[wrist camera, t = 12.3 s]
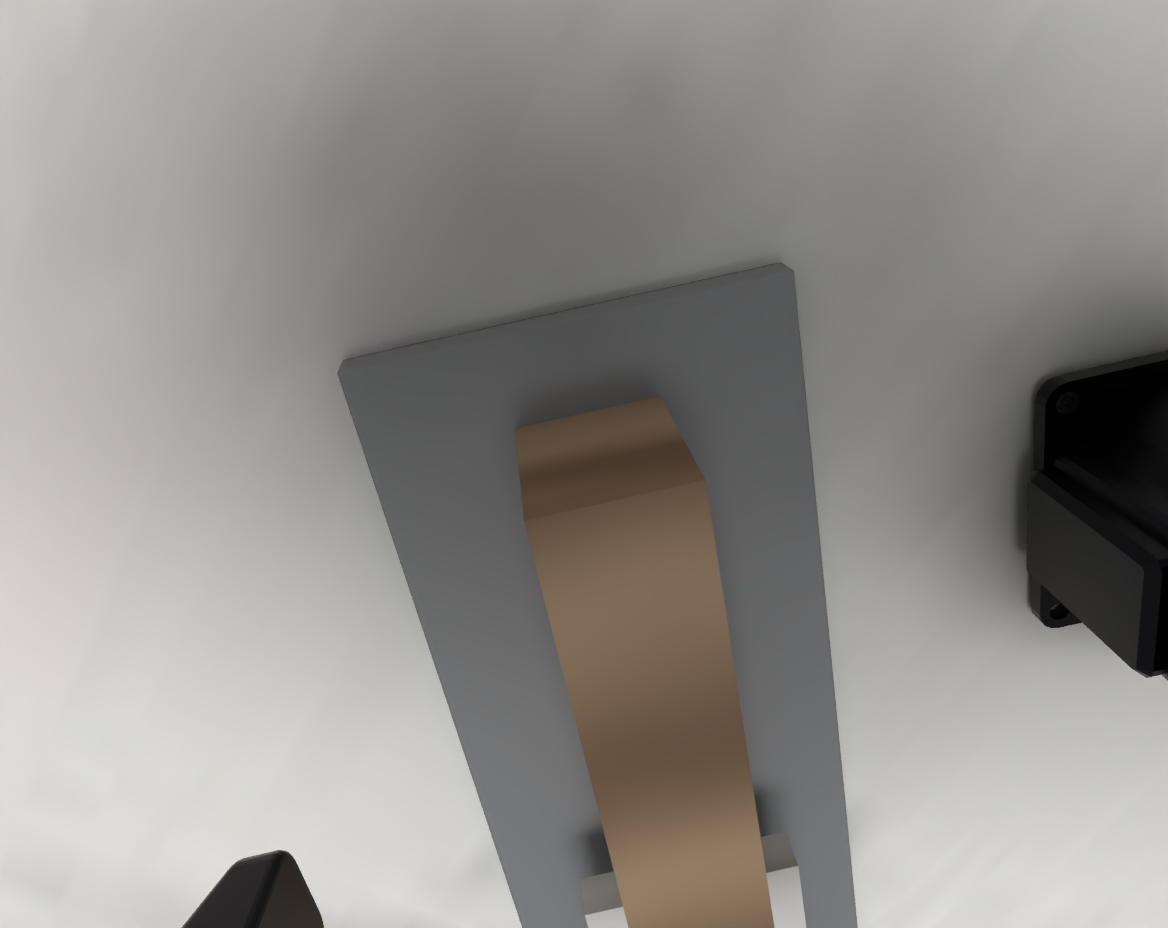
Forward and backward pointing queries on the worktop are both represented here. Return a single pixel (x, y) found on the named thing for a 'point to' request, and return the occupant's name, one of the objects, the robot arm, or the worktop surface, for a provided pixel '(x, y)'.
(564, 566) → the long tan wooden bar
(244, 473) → the worktop surface
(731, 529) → the tool mat
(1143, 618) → the robot arm
